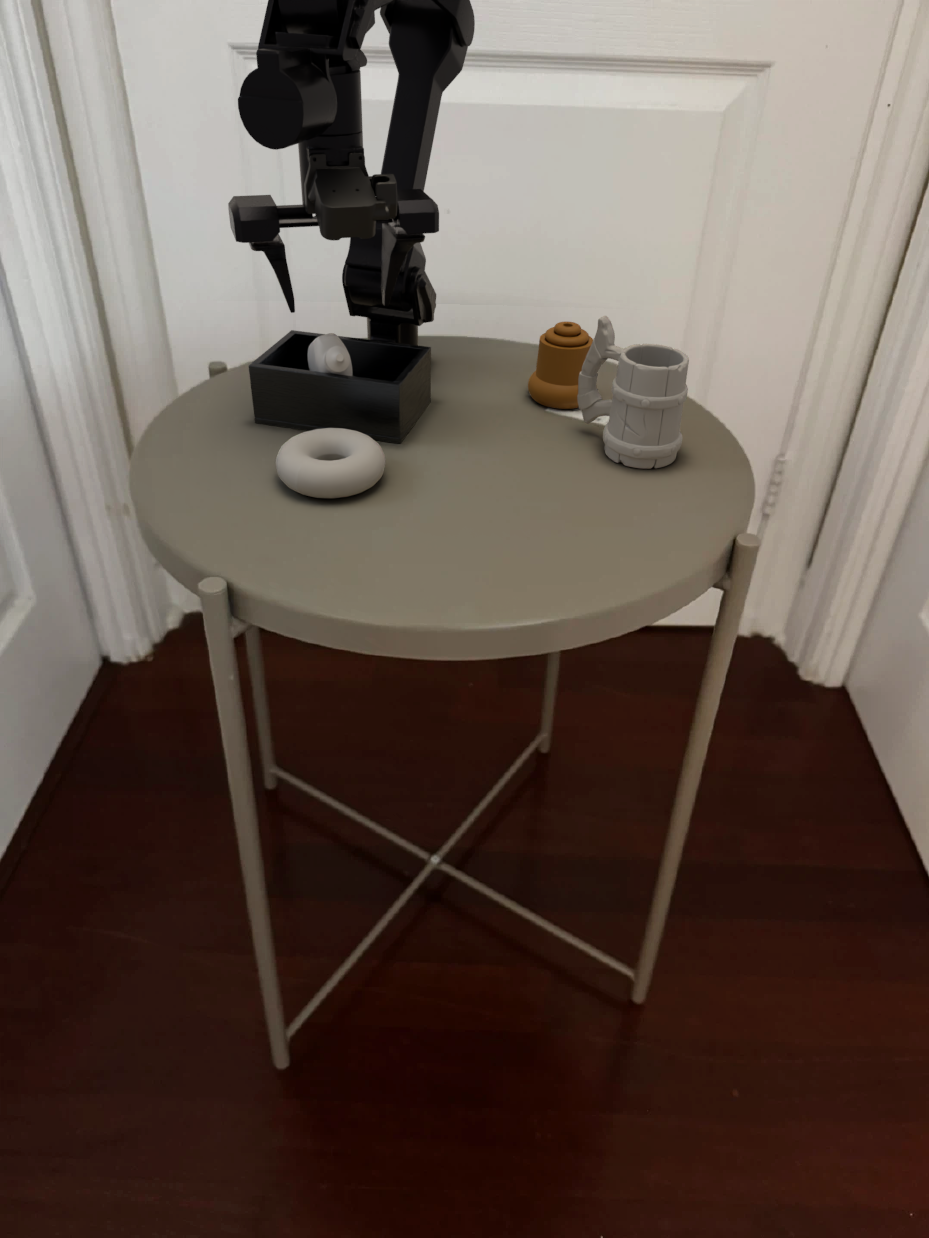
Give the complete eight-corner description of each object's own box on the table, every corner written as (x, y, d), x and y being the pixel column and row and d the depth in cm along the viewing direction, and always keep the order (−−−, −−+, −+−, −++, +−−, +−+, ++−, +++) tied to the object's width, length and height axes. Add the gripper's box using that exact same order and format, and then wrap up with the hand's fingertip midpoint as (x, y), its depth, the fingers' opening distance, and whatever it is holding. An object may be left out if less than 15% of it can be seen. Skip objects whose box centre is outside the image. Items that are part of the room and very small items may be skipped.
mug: (652, 479, 88) (672, 355, 81) (552, 440, 94) (562, 321, 87) (694, 452, 93) (716, 333, 86) (596, 417, 99) (609, 303, 92)
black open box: (296, 384, 104) (291, 330, 100) (431, 402, 101) (431, 347, 97) (254, 423, 96) (248, 365, 92) (400, 444, 93) (399, 385, 89)
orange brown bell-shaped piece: (609, 401, 102) (557, 417, 99) (564, 379, 107) (513, 393, 103) (618, 329, 97) (564, 342, 94) (571, 309, 102) (517, 321, 99)
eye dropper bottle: (299, 390, 99) (311, 382, 88) (309, 337, 98) (322, 321, 87) (340, 400, 100) (356, 393, 89) (350, 347, 100) (368, 333, 88)
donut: (398, 462, 90) (298, 448, 91) (398, 428, 88) (296, 415, 89) (368, 513, 82) (260, 497, 83) (367, 478, 80) (256, 462, 81)
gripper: (230, 151, 74) (252, 344, 83) (457, 144, 78) (454, 328, 88) (218, 127, 82) (239, 305, 92) (423, 122, 87) (423, 292, 96)
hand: (339, 308), depth 92 cm, fingers open, 9 cm apart
